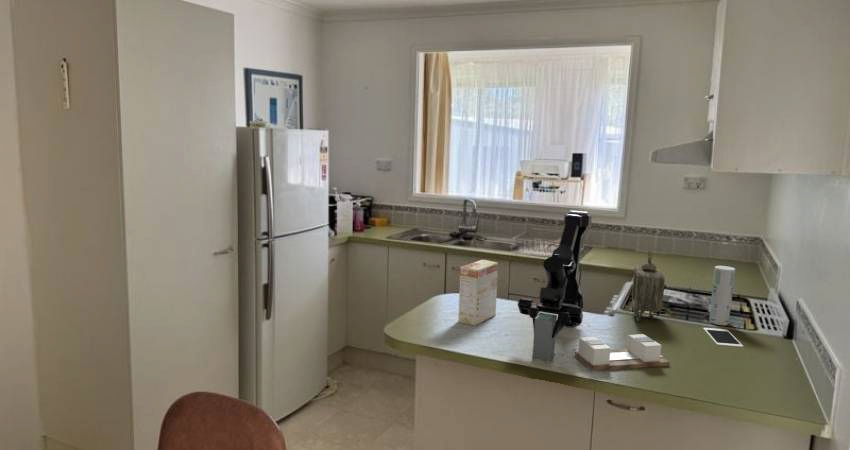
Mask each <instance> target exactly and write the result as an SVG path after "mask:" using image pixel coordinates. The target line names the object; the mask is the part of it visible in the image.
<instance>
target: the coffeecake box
mask: <svg viewBox="0 0 850 450" xmlns="http://www.w3.org/2000/svg"><path fill="white" fill-rule="evenodd" d="M459 268H460V269H459V292H458V293H459V298H458V320H457V321H458V323H463V324H467V325H470V326H477V325H478V324H481V323H483V322H485V321H487V320H488V319H490V318H493V317H494V316H496V314H497V313H496V312H497V293H498V291H497V290H498V275H499V274H498V272H499V271H498V270H499V262H497V261H491V260H488V259H480V260H478V261H474V262H472V263H468V264H465V265H462V266H459Z"/></svg>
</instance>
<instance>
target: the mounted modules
mask: <svg viewBox="0 0 850 450" xmlns="http://www.w3.org/2000/svg"><path fill="white" fill-rule="evenodd" d="M578 341H579V342H578V351H577V352H578V353H579V354H580V355H582V356H584V357H585V358H586V359H587V360H589V361H590V363H591V364H592V365H605V364H609V363H610V351H611V350H612V348H611V347H610V346H608V345H607V344H606V343H605V342H603V341H602V340H600V339H598V337H596V336H587V337H586V336H584V337H583V336H581V337H579V338H578ZM626 346H627V347H626V349H627V350H628V351H629V352H632V353H633V354H635V355H636V356H638V357H639V358H640V359H641V360H642V361H644V362H652V361H660V355H661V351H662V344H660V343H659V342H657V341H655V340H654V339H652V338H651V337H649V336H647V335H645V334H644V333H641V334H639V333H638V334H628V337H627V345H626Z"/></svg>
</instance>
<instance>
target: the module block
mask: <svg viewBox="0 0 850 450" xmlns="http://www.w3.org/2000/svg"><path fill="white" fill-rule="evenodd" d="M557 318H558V315H557V314H551V313H545V312H539V313H538V316H537V317H536V318H535V326H534V328H533V342H532V343H533V345H532V359H538V360H542V361H543V360H544V361H548V362H550V361H551V359H552V358H553V356H554V355H555V348H556V336H555V337H554V338H552V334H553V330H554V327H555V324H556V321H557Z"/></svg>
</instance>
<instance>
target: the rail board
mask: <svg viewBox="0 0 850 450" xmlns="http://www.w3.org/2000/svg"><path fill="white" fill-rule="evenodd" d="M574 356H575V357H576V358H577V360H579V361H580V362H582V364H584V365H585V366H586V367H588V368H589V369H590V370H591V371H592V370H593V371H594V372H596V371H611V370H613V371H614V370H626V369H628V370H629V369H642V368H654V367H655V368H656V367H670V364H671V361H669V360H667V359H666V358H664V356H663V355H661V354H660V361H652V362H644V361H642V360H641V359H640V358H639V357H638V356H636V355H635V354H633V353H632V352H629V351H628V350H627V348H621V349H618V348H617V349H611V351H610V363H609V364H605V365H592V364H591V363H590V361H589V360H587V359H586V358H585V357H584V356H582V355H580V354H579V353H578V351H575V352H574Z"/></svg>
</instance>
